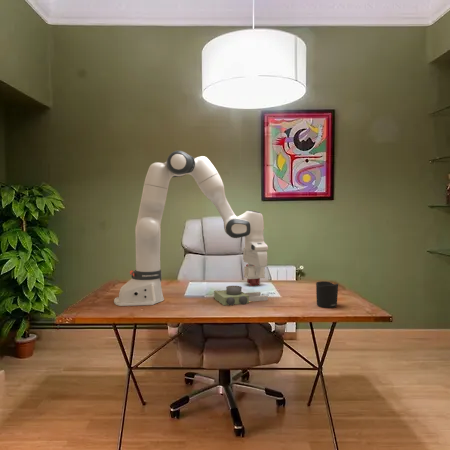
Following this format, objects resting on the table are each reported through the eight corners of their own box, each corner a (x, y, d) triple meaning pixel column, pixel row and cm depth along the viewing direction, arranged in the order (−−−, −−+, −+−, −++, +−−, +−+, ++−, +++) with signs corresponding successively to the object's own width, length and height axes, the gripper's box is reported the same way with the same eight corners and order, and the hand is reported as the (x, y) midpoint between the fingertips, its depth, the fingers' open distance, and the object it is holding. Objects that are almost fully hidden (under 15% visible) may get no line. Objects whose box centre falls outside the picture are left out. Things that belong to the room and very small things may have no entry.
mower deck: (224, 306, 179) (224, 291, 179) (214, 298, 194) (214, 284, 193) (271, 302, 187) (271, 288, 186) (257, 294, 201) (257, 281, 201)
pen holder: (316, 308, 177) (317, 285, 176) (315, 302, 186) (315, 281, 185) (339, 308, 175) (339, 285, 175) (336, 303, 185) (336, 281, 184)
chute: (248, 279, 188) (248, 268, 188) (244, 277, 194) (244, 266, 193) (264, 278, 191) (264, 267, 191) (259, 276, 196) (259, 265, 196)
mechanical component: (244, 283, 230) (262, 283, 229) (243, 286, 220) (262, 287, 219) (245, 261, 229) (262, 261, 228) (244, 264, 219) (262, 264, 218)
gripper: (239, 243, 200) (239, 271, 201) (257, 247, 181) (256, 278, 182) (251, 242, 202) (251, 270, 203) (269, 246, 183) (269, 277, 184)
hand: (254, 274), depth 192 cm, fingers closed on chute, 5 cm apart
